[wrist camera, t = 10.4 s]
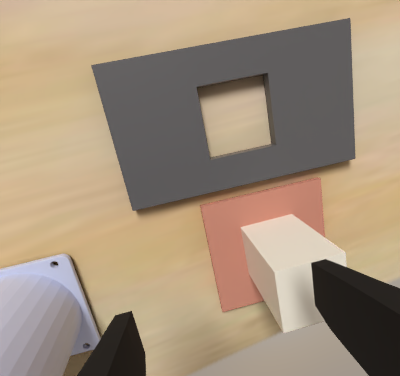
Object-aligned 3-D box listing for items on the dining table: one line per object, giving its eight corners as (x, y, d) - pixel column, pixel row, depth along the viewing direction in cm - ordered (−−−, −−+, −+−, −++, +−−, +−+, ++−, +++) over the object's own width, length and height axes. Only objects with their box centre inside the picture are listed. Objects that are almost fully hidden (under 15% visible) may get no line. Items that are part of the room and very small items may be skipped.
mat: (221, 308, 22) (222, 312, 21) (200, 205, 19) (201, 207, 19) (325, 280, 22) (328, 282, 22) (317, 177, 20) (320, 178, 20)
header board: (133, 207, 18) (132, 210, 18) (94, 67, 16) (91, 65, 15) (347, 157, 20) (355, 158, 19) (342, 22, 17) (350, 18, 17)
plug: (248, 273, 21) (283, 333, 15) (240, 227, 20) (274, 272, 14) (297, 260, 21) (349, 313, 15) (291, 213, 20) (345, 252, 14)
